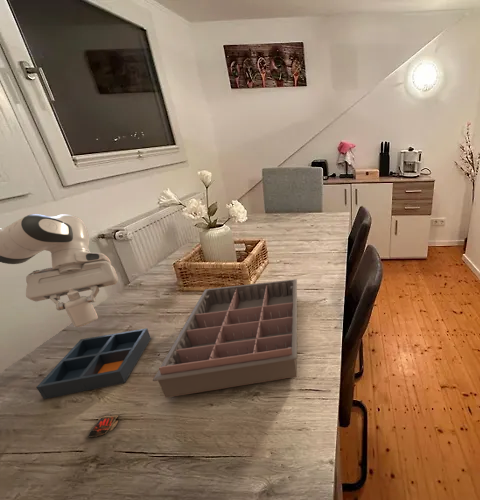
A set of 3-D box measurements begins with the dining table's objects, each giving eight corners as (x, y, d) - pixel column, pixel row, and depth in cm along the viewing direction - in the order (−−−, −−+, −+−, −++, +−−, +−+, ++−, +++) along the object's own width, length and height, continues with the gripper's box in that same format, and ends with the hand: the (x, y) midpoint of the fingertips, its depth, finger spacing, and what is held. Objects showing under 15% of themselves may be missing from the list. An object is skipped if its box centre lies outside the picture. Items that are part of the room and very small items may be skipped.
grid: (43, 399, 68) (35, 387, 67) (86, 349, 84) (80, 339, 82) (125, 383, 72) (119, 371, 70) (151, 338, 88) (147, 328, 86)
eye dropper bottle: (96, 322, 86) (80, 289, 81) (72, 329, 83) (54, 294, 79) (99, 315, 89) (84, 282, 85) (77, 321, 87) (60, 287, 82)
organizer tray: (299, 297, 107) (296, 274, 103) (300, 382, 70) (296, 352, 66) (210, 307, 102) (203, 284, 98) (162, 405, 66) (148, 374, 62)
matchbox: (86, 440, 59) (85, 438, 58) (97, 418, 63) (97, 417, 63) (113, 432, 60) (112, 430, 60) (122, 411, 64) (121, 410, 64)
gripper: (19, 268, 79) (20, 314, 75) (109, 252, 89) (115, 292, 85) (32, 276, 85) (35, 319, 81) (116, 260, 94) (122, 298, 90)
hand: (76, 305), depth 83 cm, fingers closed on eye dropper bottle, 5 cm apart
